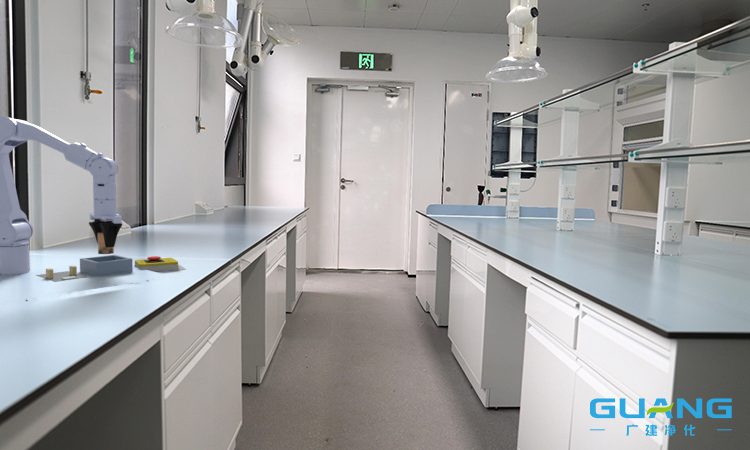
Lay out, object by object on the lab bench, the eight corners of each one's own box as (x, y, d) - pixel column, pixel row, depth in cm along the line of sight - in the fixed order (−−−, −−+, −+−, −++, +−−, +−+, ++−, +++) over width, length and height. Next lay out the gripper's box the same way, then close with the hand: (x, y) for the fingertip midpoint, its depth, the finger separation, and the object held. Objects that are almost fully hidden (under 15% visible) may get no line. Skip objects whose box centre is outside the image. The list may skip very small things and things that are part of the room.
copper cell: (95, 253, 137) (94, 231, 136) (109, 251, 140) (109, 230, 139) (102, 254, 134) (101, 232, 134) (116, 253, 138) (116, 231, 137)
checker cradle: (35, 279, 130) (35, 266, 130) (67, 275, 137) (67, 262, 136) (55, 286, 123) (54, 272, 123) (87, 281, 130) (87, 268, 130)
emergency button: (128, 256, 148) (178, 253, 157) (128, 270, 149) (178, 266, 158) (134, 261, 141) (186, 257, 150) (134, 275, 141) (186, 271, 150)
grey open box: (80, 275, 137) (79, 258, 136) (115, 270, 145) (114, 254, 144) (97, 280, 131) (96, 263, 131) (132, 275, 139) (132, 258, 139)
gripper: (132, 200, 135) (133, 247, 136) (106, 198, 143) (107, 242, 144) (106, 201, 129) (107, 250, 131) (81, 198, 137) (83, 244, 139)
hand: (106, 246), depth 137 cm, fingers closed on copper cell, 4 cm apart
